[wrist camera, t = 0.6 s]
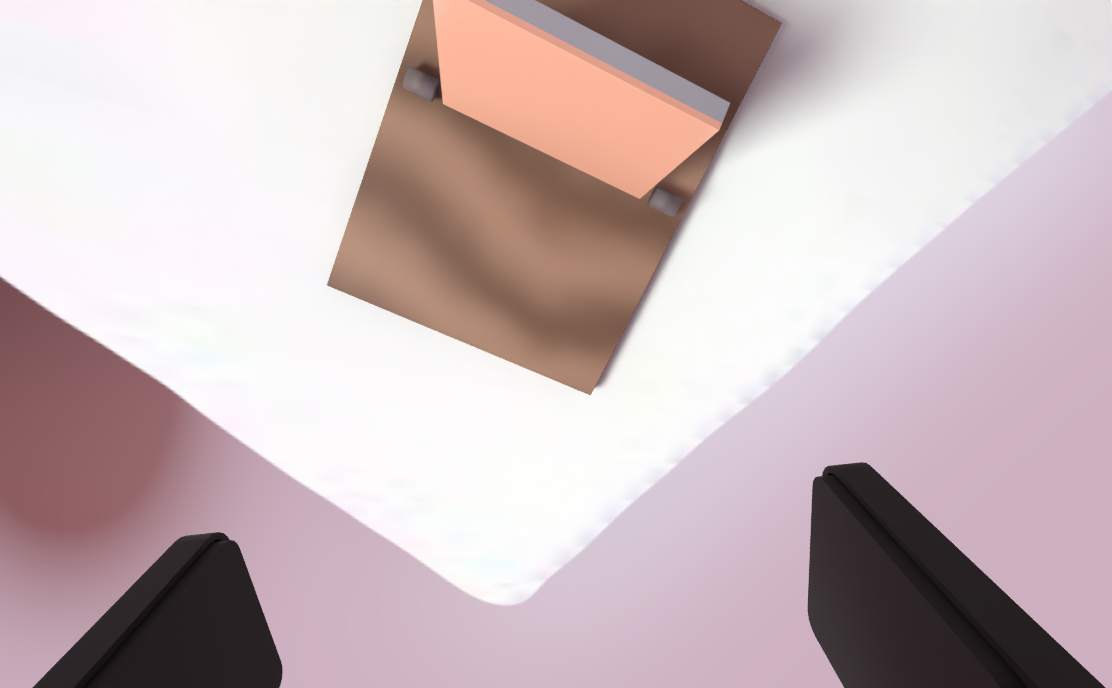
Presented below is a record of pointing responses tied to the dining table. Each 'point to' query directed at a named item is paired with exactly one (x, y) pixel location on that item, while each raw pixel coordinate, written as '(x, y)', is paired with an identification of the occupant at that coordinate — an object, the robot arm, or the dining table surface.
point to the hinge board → (532, 200)
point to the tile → (570, 91)
